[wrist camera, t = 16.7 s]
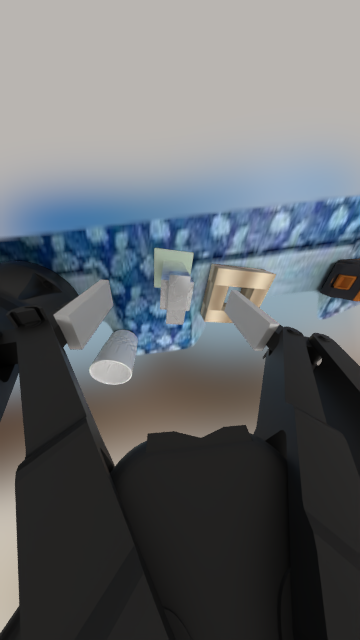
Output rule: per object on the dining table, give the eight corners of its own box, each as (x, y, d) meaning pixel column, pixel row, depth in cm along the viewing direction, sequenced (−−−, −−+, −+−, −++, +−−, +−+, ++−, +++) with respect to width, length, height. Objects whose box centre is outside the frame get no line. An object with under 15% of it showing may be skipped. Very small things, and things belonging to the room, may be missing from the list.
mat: (154, 286, 27) (154, 287, 26) (154, 247, 23) (154, 248, 23) (187, 288, 28) (187, 289, 27) (193, 252, 24) (193, 252, 24)
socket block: (200, 312, 31) (204, 321, 28) (211, 263, 25) (218, 268, 22) (242, 314, 33) (251, 324, 30) (262, 269, 27) (276, 274, 24)
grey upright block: (162, 284, 26) (159, 323, 15) (163, 254, 23) (161, 273, 12) (180, 286, 27) (189, 324, 16) (183, 256, 24) (198, 277, 12)
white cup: (134, 353, 37) (124, 387, 29) (105, 344, 34) (85, 379, 26) (144, 334, 34) (137, 366, 25) (113, 322, 31) (93, 355, 23)
